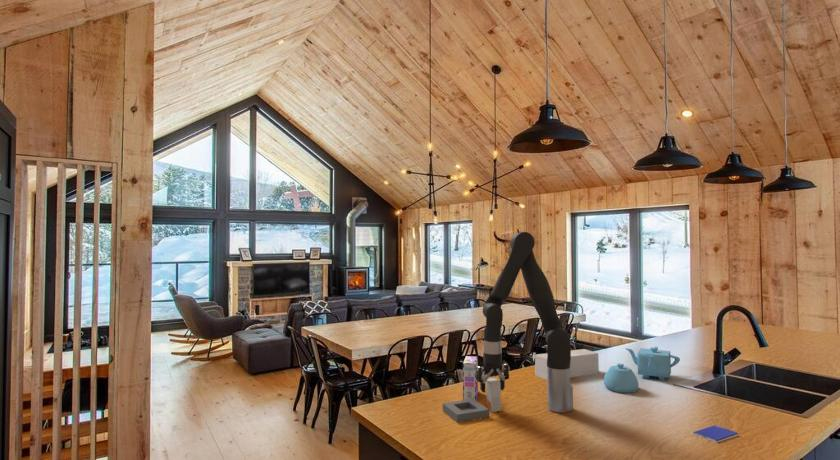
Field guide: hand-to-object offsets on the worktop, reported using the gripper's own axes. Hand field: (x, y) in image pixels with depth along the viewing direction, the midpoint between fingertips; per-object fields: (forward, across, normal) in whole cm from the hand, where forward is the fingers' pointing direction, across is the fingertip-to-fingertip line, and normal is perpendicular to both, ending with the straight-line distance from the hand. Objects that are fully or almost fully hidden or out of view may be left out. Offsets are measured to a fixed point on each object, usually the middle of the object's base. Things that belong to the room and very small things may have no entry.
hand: (492, 390), depth 190 cm
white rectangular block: (+7, +61, +31) cm, 69 cm away
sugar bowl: (+7, +68, +1) cm, 69 cm away
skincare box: (+8, 0, 0) cm, 8 cm away
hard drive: (+7, +60, -52) cm, 80 cm away
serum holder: (+8, -13, 0) cm, 15 cm away
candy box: (+8, -1, +19) cm, 20 cm away
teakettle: (+6, +97, +10) cm, 98 cm away
